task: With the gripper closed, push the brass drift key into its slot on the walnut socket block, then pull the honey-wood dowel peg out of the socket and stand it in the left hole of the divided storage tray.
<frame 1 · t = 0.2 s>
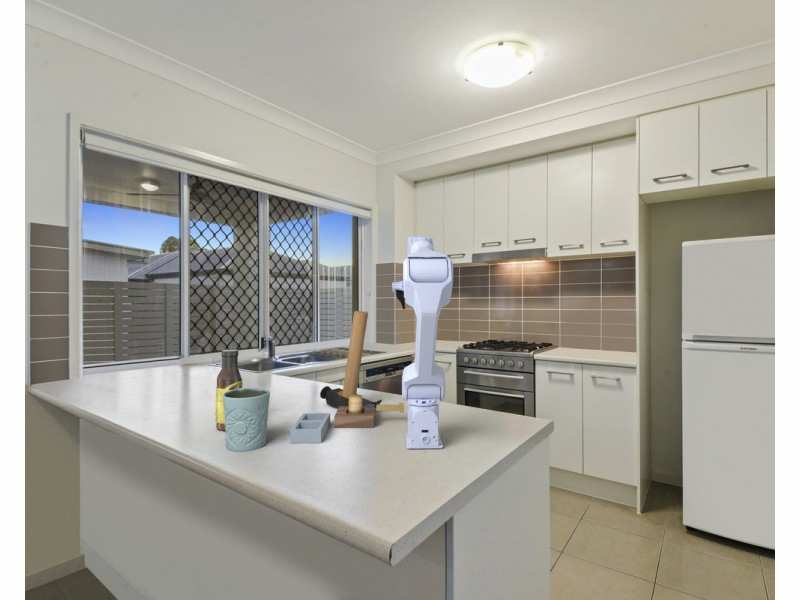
hand: (416, 306, 124), 31 cm above the table, tool tilted 45°, fingers open, 7 cm apart
sauce bottle: (229, 428, 107), on the table
dowel peg: (355, 422, 111), resting in socket block
divided storage tray: (311, 433, 102), on the table
teal embossed cup: (246, 446, 94), on the table
drift key: (390, 407, 111), point 4 cm above the table, slide at 3.0 cm
hammer: (349, 409, 125), on the table
socket block: (355, 422, 111), on the table
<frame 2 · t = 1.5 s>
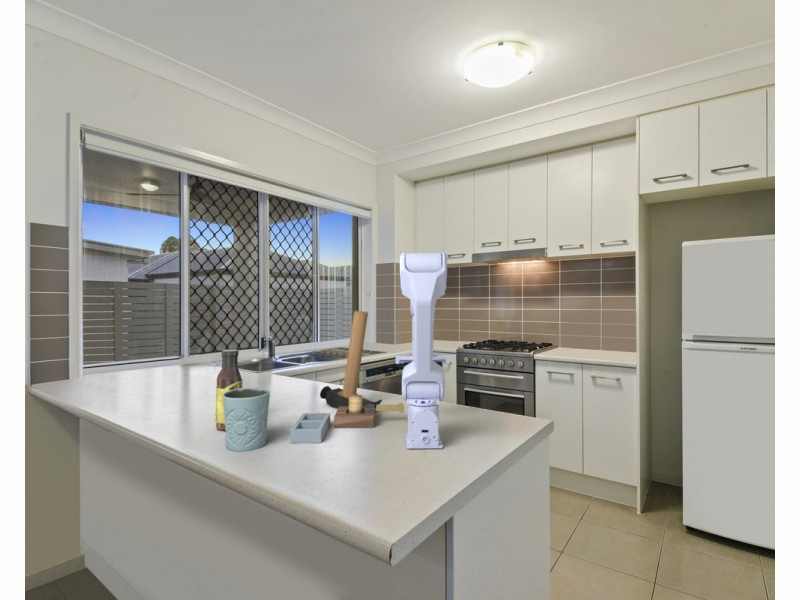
hand: (422, 390, 112), 8 cm above the table, tool pointing down, fingers open, 5 cm apart
nothing on the table moved.
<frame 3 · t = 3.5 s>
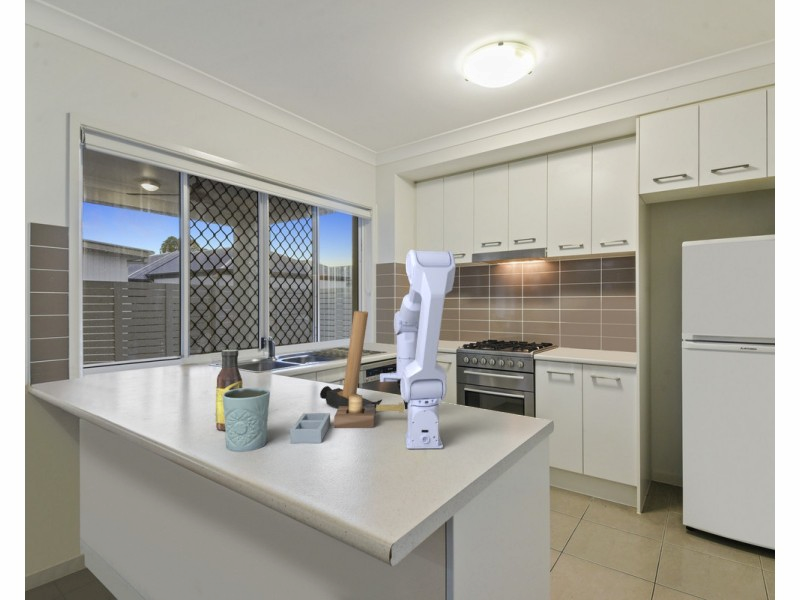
hand: (407, 408, 111), 4 cm above the table, tool pointing down, fingers closed
drift key: (390, 407, 111), point 4 cm above the table, slide at 3.0 cm, touching gripper
everything else where it was.
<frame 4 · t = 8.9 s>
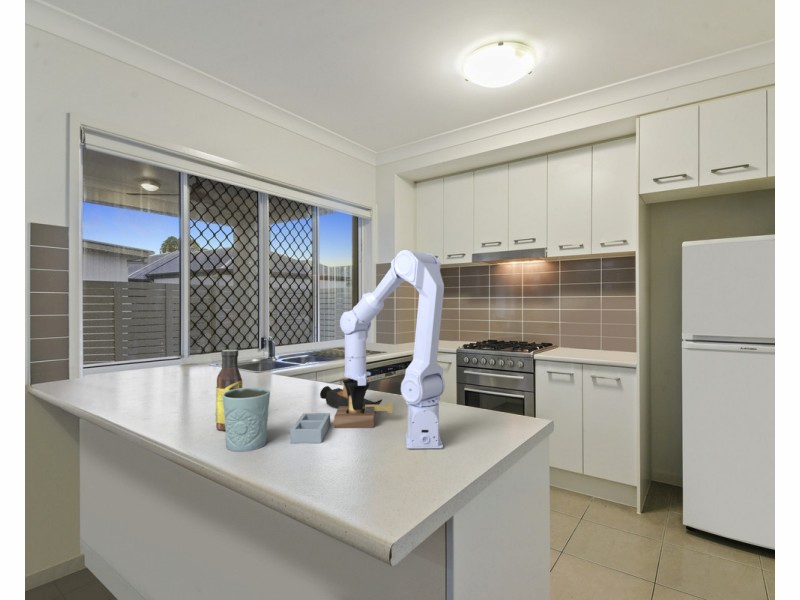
hand: (355, 407, 111), 4 cm above the table, tool pointing down, fingers closed on dowel peg, 4 cm apart
dowel peg: (355, 422, 111), resting in socket block, touching gripper
drift key: (378, 407, 111), point 4 cm above the table, slide at -0.1 cm
everything else where it was.
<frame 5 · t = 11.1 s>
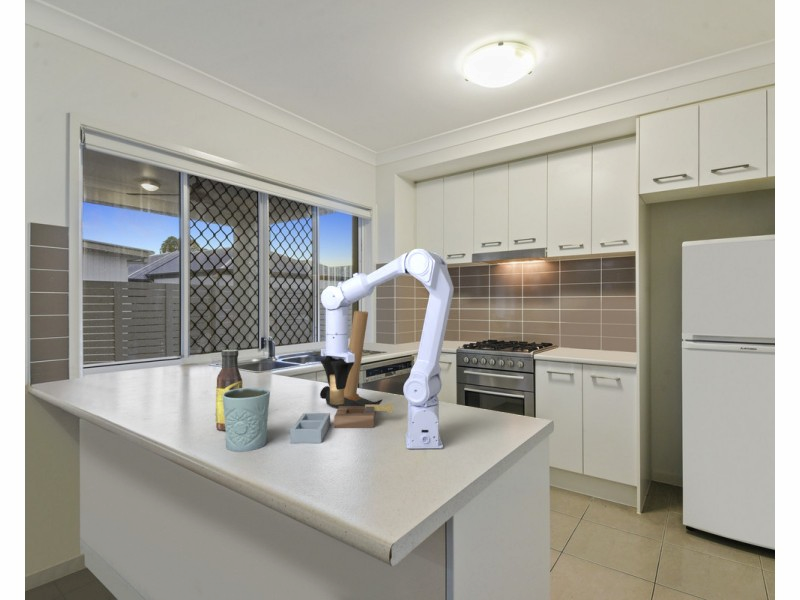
hand: (337, 387, 106), 10 cm above the table, tool pointing down, fingers closed on dowel peg, 4 cm apart
dowel peg: (337, 402, 106), point 6 cm above the table, touching gripper
everything else where it was.
when the fingers open (5 cm above the table, at t = 13.4 s): dowel peg drops 1 cm, resting in divided storage tray.
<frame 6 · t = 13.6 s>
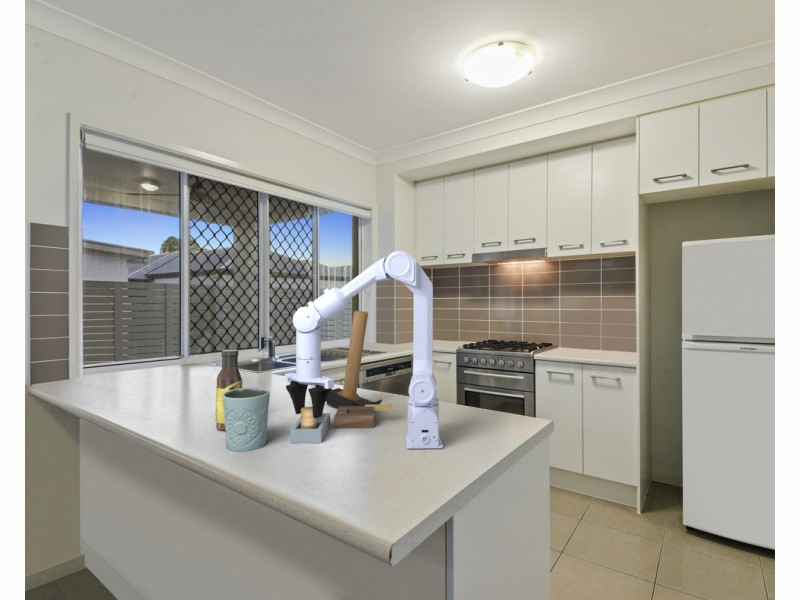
hand: (308, 415, 99), 5 cm above the table, tool pointing down, fingers open, 5 cm apart
dowel peg: (308, 438, 99), resting in divided storage tray
everything else where it was.
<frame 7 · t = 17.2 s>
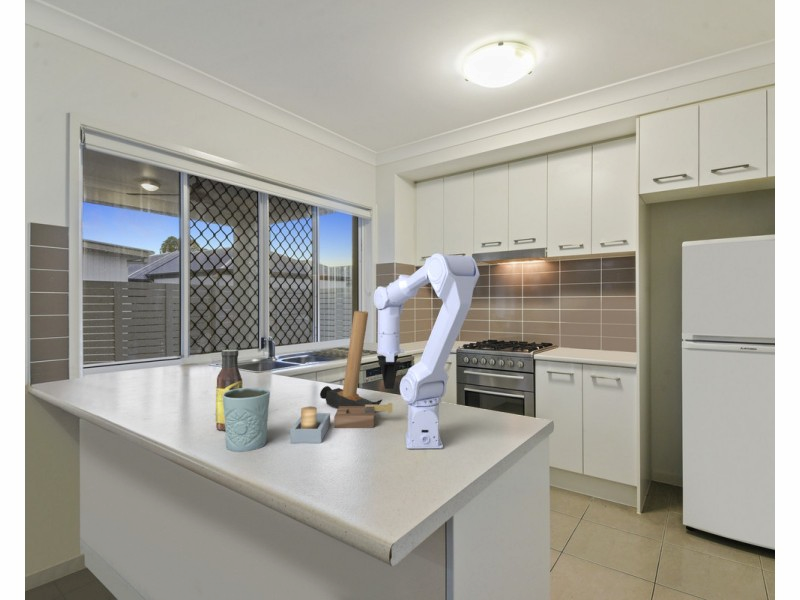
hand: (388, 385, 109), 10 cm above the table, tool pointing down, fingers open, 7 cm apart
nothing on the table moved.
at the end: drift key slide at -0.1 cm; dowel peg 0.0 cm from the target spot on the divided storage tray, point 0.0 cm above the divided storage tray's base; dowel peg tilted 0° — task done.
